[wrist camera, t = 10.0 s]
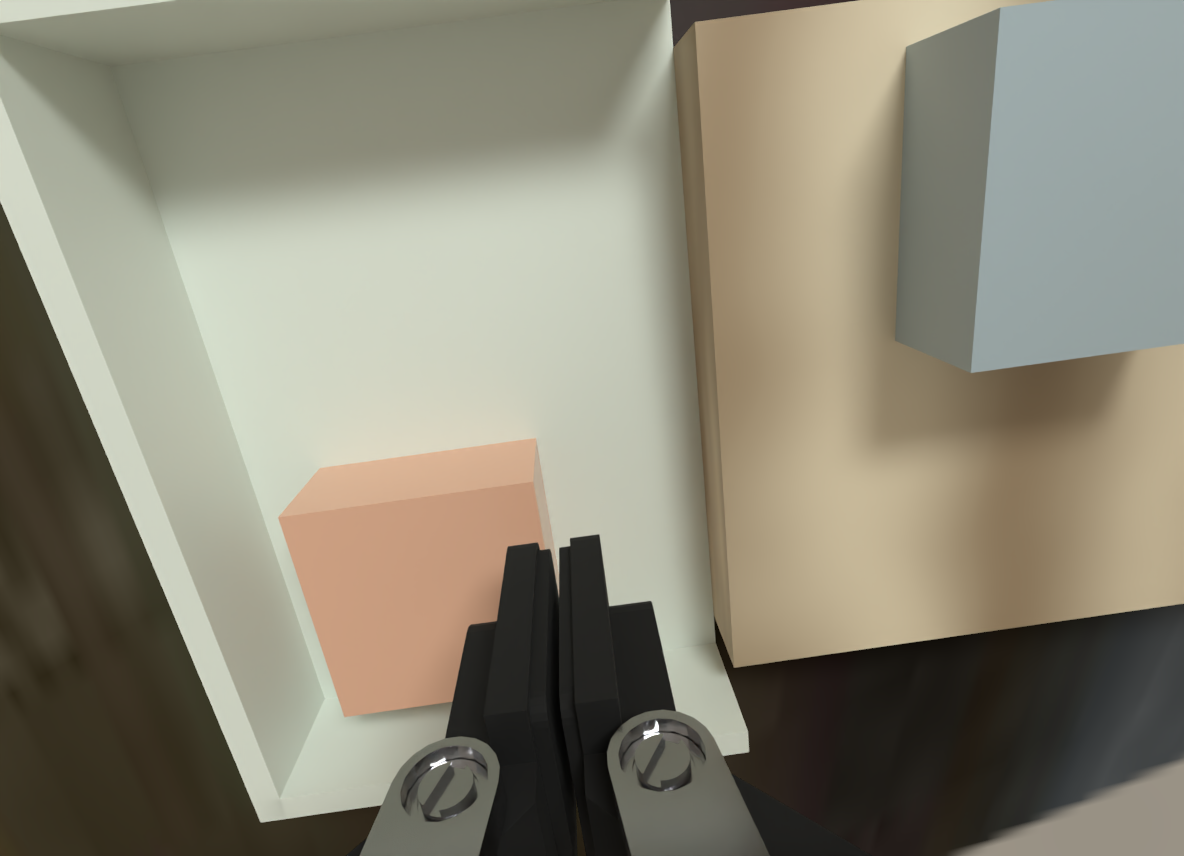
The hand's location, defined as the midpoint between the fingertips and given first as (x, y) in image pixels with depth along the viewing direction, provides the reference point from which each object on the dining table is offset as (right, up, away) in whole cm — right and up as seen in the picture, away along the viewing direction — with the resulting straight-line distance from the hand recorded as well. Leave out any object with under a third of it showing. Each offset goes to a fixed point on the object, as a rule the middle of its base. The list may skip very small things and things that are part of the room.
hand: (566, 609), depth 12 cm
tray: (-3, +4, +3) cm, 6 cm away
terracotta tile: (-3, 0, +3) cm, 4 cm away
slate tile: (+9, +7, -1) cm, 11 cm away
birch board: (+10, +6, +3) cm, 12 cm away
